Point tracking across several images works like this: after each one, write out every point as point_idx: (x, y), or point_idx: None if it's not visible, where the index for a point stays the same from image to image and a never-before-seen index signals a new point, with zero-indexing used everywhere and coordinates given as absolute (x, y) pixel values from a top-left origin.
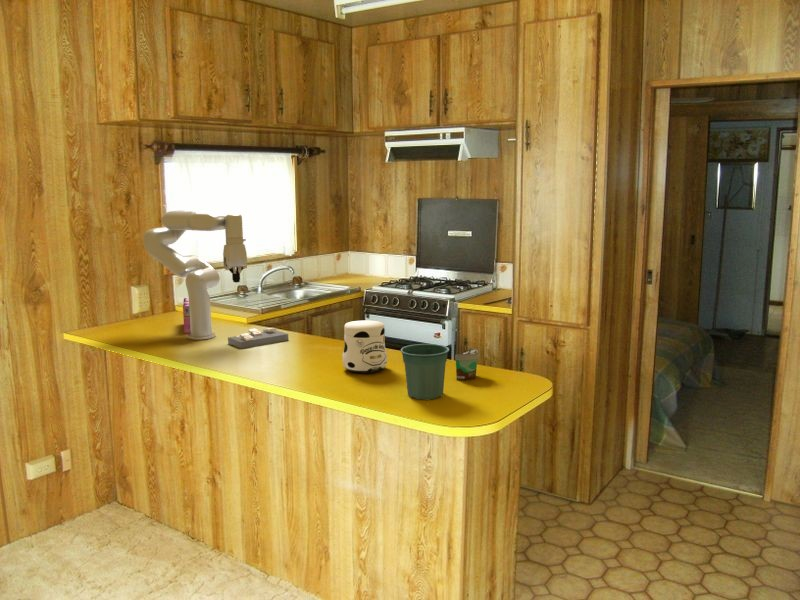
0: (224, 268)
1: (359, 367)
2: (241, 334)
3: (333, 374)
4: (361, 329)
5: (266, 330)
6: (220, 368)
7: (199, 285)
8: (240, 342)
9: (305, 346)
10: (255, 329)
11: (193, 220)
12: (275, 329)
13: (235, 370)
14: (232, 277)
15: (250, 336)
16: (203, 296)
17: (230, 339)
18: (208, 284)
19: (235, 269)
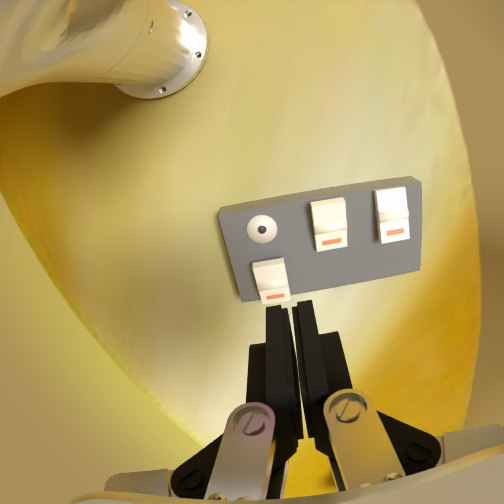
0: (109, 490)
1: None
2: (258, 271)
3: (319, 463)
4: None
5: (378, 220)
6: (166, 400)
7: None
8: (241, 300)
9: (401, 338)
10: (339, 213)
11: None
12: (404, 238)
13: (191, 417)
14: (248, 368)
15: (284, 292)
16: (62, 76)
17: (223, 233)
18: (56, 10)
19: (280, 498)
